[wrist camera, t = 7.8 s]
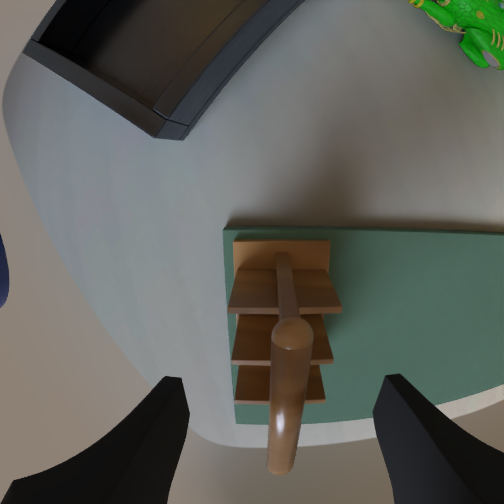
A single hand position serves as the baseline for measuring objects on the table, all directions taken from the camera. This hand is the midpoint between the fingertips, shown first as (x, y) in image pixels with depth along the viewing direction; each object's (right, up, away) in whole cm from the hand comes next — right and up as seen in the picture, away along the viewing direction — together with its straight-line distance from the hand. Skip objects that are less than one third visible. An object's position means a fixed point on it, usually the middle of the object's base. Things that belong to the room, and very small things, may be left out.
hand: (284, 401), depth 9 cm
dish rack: (0, +2, +6) cm, 6 cm away
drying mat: (+15, 0, +6) cm, 16 cm away
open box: (-5, +18, +1) cm, 18 cm away
